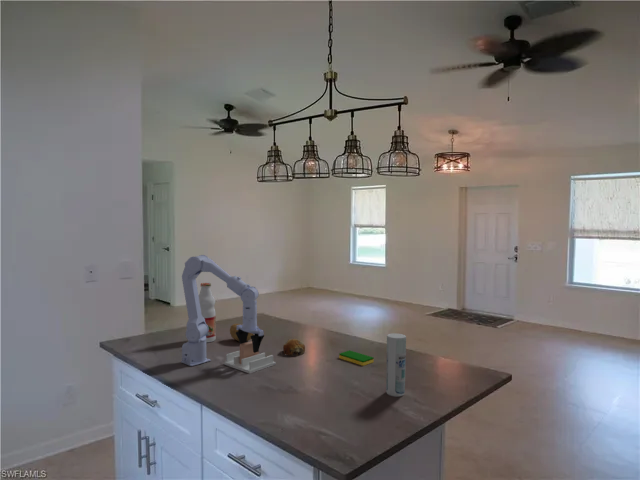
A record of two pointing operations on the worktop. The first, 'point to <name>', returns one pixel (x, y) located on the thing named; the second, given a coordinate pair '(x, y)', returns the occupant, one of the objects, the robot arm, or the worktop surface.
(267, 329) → the worktop surface
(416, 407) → the worktop surface
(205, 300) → the fruit juice
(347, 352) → the dish sponge
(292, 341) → the bread roll
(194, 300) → the robot arm
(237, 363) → the dish rack
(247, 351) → the tile
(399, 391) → the spray can
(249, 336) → the potato
